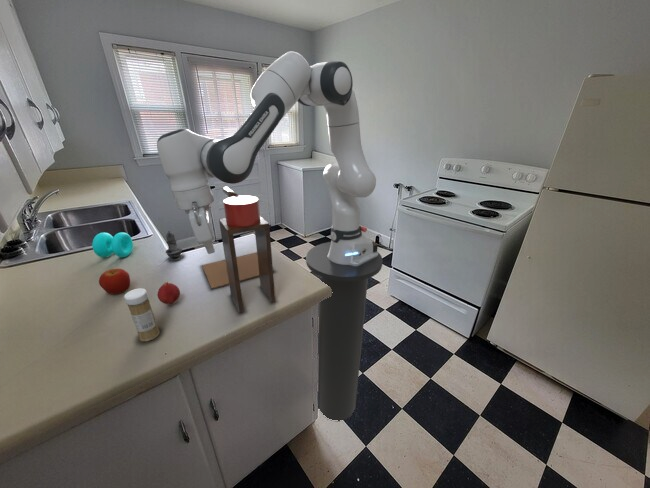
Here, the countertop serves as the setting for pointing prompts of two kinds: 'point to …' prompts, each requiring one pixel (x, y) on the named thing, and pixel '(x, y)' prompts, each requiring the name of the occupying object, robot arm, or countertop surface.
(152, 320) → the spice jar
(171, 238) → the grey statuette
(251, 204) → the saucepan
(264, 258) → the shelf
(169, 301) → the onion
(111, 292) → the apple
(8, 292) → the countertop surface
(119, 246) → the donuts
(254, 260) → the mat
